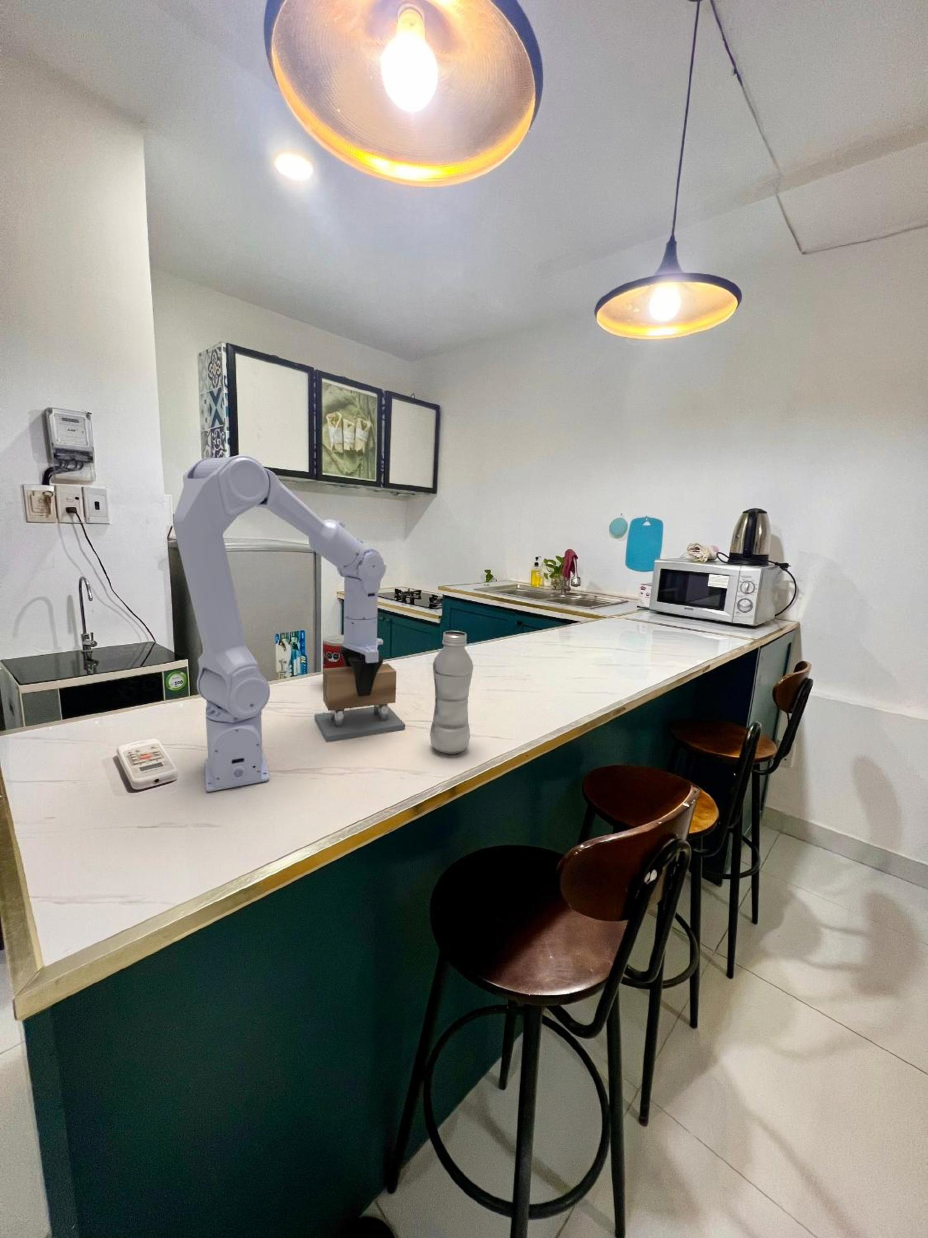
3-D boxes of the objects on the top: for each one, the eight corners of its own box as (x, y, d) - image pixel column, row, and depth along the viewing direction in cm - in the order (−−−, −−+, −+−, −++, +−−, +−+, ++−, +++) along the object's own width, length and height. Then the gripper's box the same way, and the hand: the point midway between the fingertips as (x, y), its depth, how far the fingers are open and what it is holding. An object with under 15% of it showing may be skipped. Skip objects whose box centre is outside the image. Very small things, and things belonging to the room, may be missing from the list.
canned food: (320, 682, 110) (320, 635, 108) (355, 679, 114) (356, 633, 111) (325, 694, 103) (325, 644, 101) (363, 690, 107) (364, 642, 105)
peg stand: (405, 729, 88) (405, 708, 88) (326, 742, 82) (326, 719, 81) (386, 709, 97) (387, 690, 96) (314, 719, 90) (314, 699, 90)
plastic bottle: (465, 761, 78) (472, 640, 74) (424, 755, 79) (429, 635, 75) (472, 744, 84) (479, 631, 80) (434, 738, 85) (439, 627, 81)
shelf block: (395, 702, 89) (396, 671, 88) (328, 710, 84) (328, 677, 82) (387, 693, 93) (387, 663, 92) (323, 700, 88) (323, 668, 87)
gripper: (396, 624, 81) (394, 701, 84) (370, 608, 94) (369, 676, 96) (354, 626, 78) (353, 706, 80) (333, 609, 90) (333, 679, 93)
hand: (359, 690), depth 88 cm, fingers closed on shelf block, 5 cm apart
